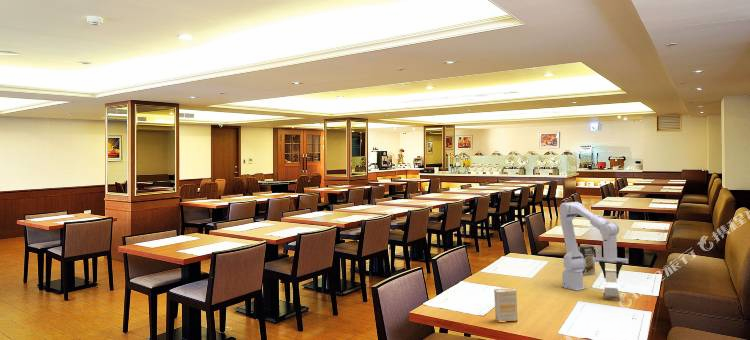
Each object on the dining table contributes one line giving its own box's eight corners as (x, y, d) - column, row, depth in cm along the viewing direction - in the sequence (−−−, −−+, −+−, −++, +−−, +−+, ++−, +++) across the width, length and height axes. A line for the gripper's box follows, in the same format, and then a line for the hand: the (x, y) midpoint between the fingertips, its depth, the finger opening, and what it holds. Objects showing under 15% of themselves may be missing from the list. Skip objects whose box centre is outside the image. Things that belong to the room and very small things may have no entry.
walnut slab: (604, 301, 228) (604, 296, 228) (603, 297, 234) (603, 292, 234) (619, 302, 226) (619, 297, 226) (618, 298, 232) (618, 293, 232)
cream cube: (606, 282, 228) (605, 272, 228) (605, 279, 232) (605, 270, 232) (616, 282, 226) (616, 272, 226) (616, 280, 231) (615, 270, 231)
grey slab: (605, 295, 228) (605, 290, 228) (604, 292, 234) (604, 287, 233) (618, 296, 226) (618, 291, 226) (617, 293, 232) (617, 288, 231)
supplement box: (514, 318, 207) (513, 287, 207) (517, 322, 202) (516, 290, 202) (494, 319, 207) (493, 288, 207) (498, 323, 202) (497, 291, 202)
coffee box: (582, 276, 275) (581, 247, 275) (574, 273, 281) (573, 245, 281) (595, 274, 277) (594, 246, 277) (587, 272, 284) (587, 244, 283)
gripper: (593, 249, 228) (594, 278, 229) (628, 251, 223) (629, 280, 223) (592, 247, 235) (593, 275, 235) (626, 248, 229) (627, 277, 230)
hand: (610, 277), depth 230 cm, fingers closed on cream cube, 4 cm apart
